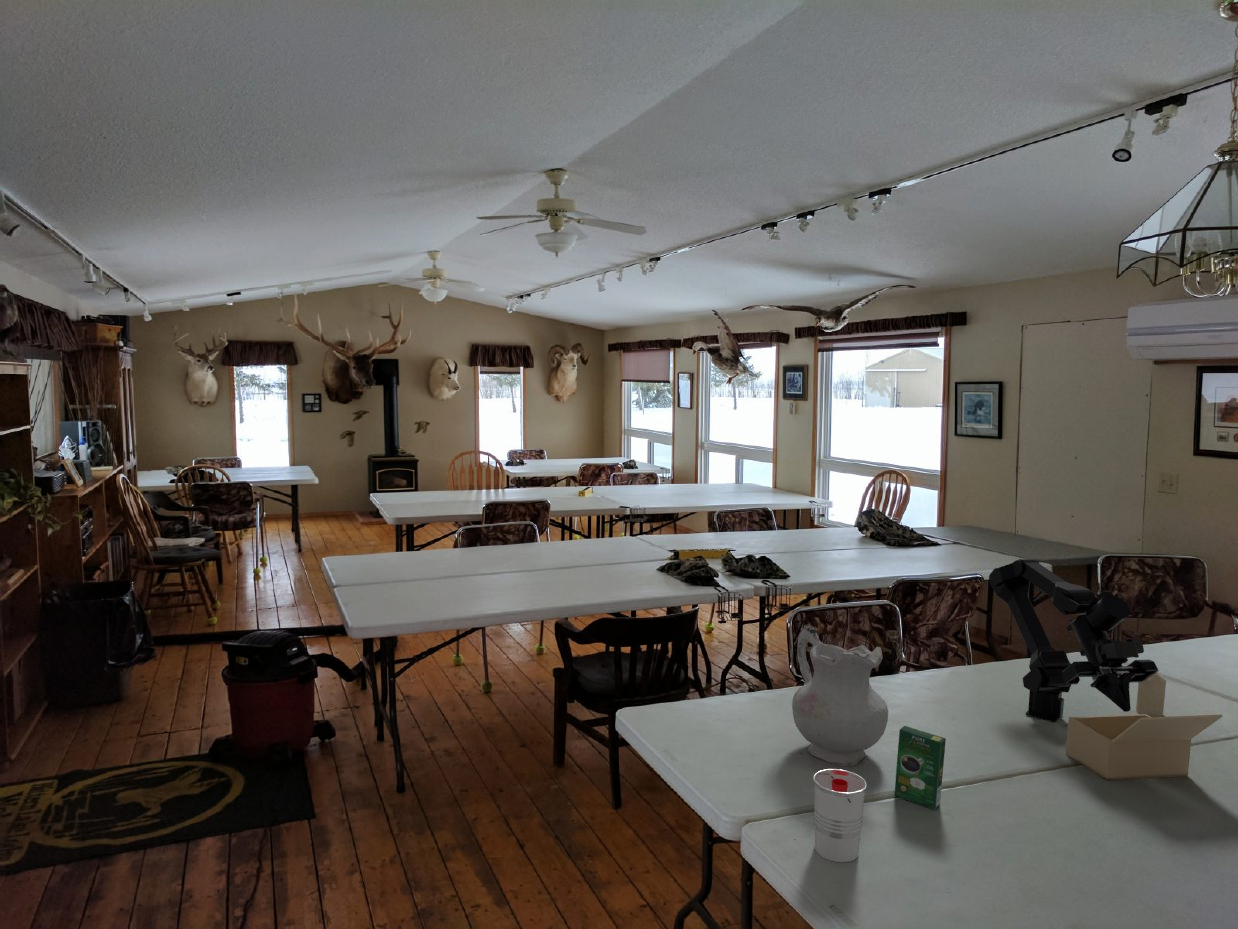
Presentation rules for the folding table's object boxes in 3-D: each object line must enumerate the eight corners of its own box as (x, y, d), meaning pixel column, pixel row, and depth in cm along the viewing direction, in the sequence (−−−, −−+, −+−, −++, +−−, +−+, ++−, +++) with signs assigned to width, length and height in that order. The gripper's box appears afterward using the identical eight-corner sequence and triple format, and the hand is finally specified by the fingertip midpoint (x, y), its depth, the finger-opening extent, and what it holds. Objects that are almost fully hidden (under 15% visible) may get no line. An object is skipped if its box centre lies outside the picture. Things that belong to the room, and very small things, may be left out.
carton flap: (1140, 717, 159) (1141, 719, 158) (1221, 714, 161) (1222, 716, 161) (1111, 741, 166) (1112, 743, 166) (1189, 737, 168) (1190, 739, 168)
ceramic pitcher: (763, 752, 179) (763, 639, 175) (811, 719, 193) (812, 614, 189) (858, 787, 164) (861, 665, 160) (903, 749, 178) (906, 636, 174)
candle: (1167, 718, 199) (1170, 677, 198) (1141, 716, 200) (1144, 675, 199) (1157, 710, 205) (1160, 669, 204) (1132, 707, 206) (1135, 667, 205)
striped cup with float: (802, 835, 144) (805, 767, 142) (850, 834, 144) (854, 766, 143) (820, 869, 134) (824, 796, 133) (873, 867, 134) (876, 795, 133)
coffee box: (942, 806, 155) (947, 736, 154) (936, 811, 153) (941, 741, 151) (899, 791, 160) (903, 724, 159) (893, 796, 158) (897, 728, 157)
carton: (1065, 754, 178) (1068, 717, 178) (1142, 750, 181) (1145, 714, 180) (1106, 780, 167) (1109, 741, 166) (1187, 776, 169) (1191, 737, 168)
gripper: (1075, 624, 175) (1108, 696, 166) (1156, 622, 178) (1193, 693, 168) (1047, 648, 184) (1078, 718, 174) (1125, 646, 187) (1159, 715, 177)
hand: (1127, 711), depth 173 cm, fingers closed
